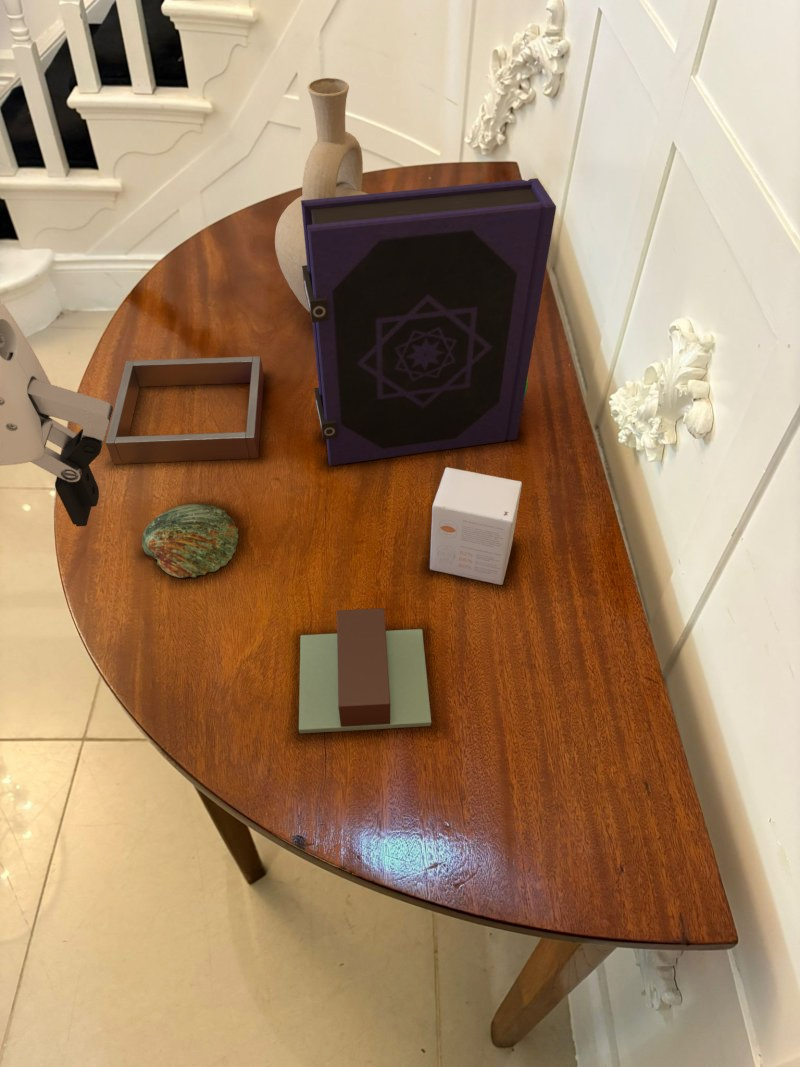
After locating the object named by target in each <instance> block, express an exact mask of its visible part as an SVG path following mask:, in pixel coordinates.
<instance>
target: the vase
mask: <svg viewBox="0 0 800 1067" xmlns="http://www.w3.org/2000/svg"><path fill="white" fill-rule="evenodd" d="M349 90H350V86H349V84H348V82H346V81H345V80H343V79H340V78H336V77H322V78H317V79H315V80H313V81H311V82H309V84H308V85H307V91H308V93H309V96H310V100H311V102H312V107H313V113H314V119H315V128H316V141H315V142H314V144H313V146H312V147H311V149H310V151H309V154H308V156H307V159H306V161H305V164H304V165H305V166H304V170H303V176H302V184H301V191H302V193H301V194H302V195H300V196H298V197H297V198H296V199H294V200H293V201H292V202H291V203H290V204H288V206H287V207H286V208H285V209H284V211H283V212H282V213H281V215H280V217H279V219H278V221H277V224H276V229H275V235H274V248H275V254H276V258H277V262H278V264H279V267H280V271H281V272H282V274H283V276H284V278H285V280H286V282H287V284H288V286H289V288H290V289H291V291H292V292H293V294H294V295H295V297H296V298H297V300H298V302H299V303H300V304H301V305H302V306H303V308H304V309H305V310H306V311H307V312H308V313H310V311H309V306H308V302H307V297H306V293H305V288H304V280H303V270H302V266H305V265H307V259H306V248H305V238H304V227H303V217H302V206H301V200H311V199H322V198H333V197H343V196H354V195H364V194H368V193H367V192H365V191H362V186H363V172H364V171H363V170H364V162H363V151H362V147H361V145H360V141H359V140H357V138H356V137H355V136H354V135H353V134H352V133H351V132H348V131H347V130H346V107H347V99H348V98H347V97H348V93H349Z"/></svg>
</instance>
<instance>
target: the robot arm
mask: <svg viewBox="0 0 800 1067" xmlns="http://www.w3.org/2000/svg"><path fill="white" fill-rule="evenodd" d="M113 412H114V408H113V405H112V404H111V403H110V402H108V401H106V400H103V399H100V398H96V397H93V396H90V395H87V394H85V393H80V392H77V391H73V390H71V389H67V388H63V387H61V386H57V385H55V384H52V383H51V381H50V380H49V377H48V375H47V373H46V371H45V370H44V368H43V366H42V363H40V360H39V358H38V357H37V355H36V352H35V351H34V349H33V348H32V345H31V344H30V342H29V340H28V339H27V337H26V336H25V334H24V332H23V331H22V329H21V328H20V326H19V323H18V322H17V321H16V320H15V318H14V316H13V315H12V313H11V312H10V311H9V309H8V308H7V307H6V305H5V304H4V302H3V301H2V300H1V299H0V467H1V466H15V465H21V464H27V463H32V464H34V465H36V466H37V467H39V468H41V469H43V470H44V471H46V472H48V473H50V474H52V475H54V476H55V477H56V479H55V483H54V488H55V491H56V493H57V494H58V497H59V499H60V501H61V502H62V505H63V507H64V508H65V511H66V513H67V514H68V517H69V520H70V521H71V523H72V525H75V526H76V527H87V525H88V522H89V517H90V514H91V510H92V508H93V507H97V506H98V503H99V499H100V490H99V486H98V484H97V483H98V482H97V481H96V479H95V476H94V474H93V471H92V469H91V467H90V465H91V464H92V463H93V461H95V459H96V458H97V457H98V456H100V454H101V451H102V447H103V445H104V442H105V438H106V437H107V436H106V435H107V434H108V430H109V427H110V424H111V420H112V416H113ZM51 417H52V418H51ZM53 418H55V419H59V420H62V421H66V422H70V423H72V424H75V425H78V426H79V427H81V428H80V430H79V431H78V433H76V432H74V431H73V430H71V429H70V428H68V427H66V426H65V425H64V424H61V423H60V422H58V421H57V420H55V419H53ZM48 441H49V442H50V443H52V444H53V445H55V446H57V447H59V449H60V448H61V453H58V452H57V451H55V450H54V449H52V448H50V447H48V446H47V443H48Z"/></svg>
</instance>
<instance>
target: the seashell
mask: <svg viewBox="0 0 800 1067" xmlns="http://www.w3.org/2000/svg"><path fill="white" fill-rule="evenodd" d="M238 533H239V528H238V527H237V526H236V523H235V522H234V520H233V518H232V517H231V516H229V515H228V513H227V512H226V510H224V509H221V508H220V507H218V506H215V505H210V504H204V503H203V504H202V503H188V504H182V505H178V506H175V507H173V508H170V509H167V510H166V511H164V512H162V513H160V514H159V515H157V516H156V517H155V518H154V519H153V520H152V521H151V522H149V523H148V525H146V527H145V529H144V531H143V533H142V536H141V547H142V550H143V552H144V553H145V554H146V555H148V556H149V557H151V558H153V559H155V560H157V562H156V565H157V566H158V567H160V568H161V570H162V571H163V572H165V573H166V574H168V575H170V576H171V577H172V576H173V577H176V578H180V579H184V578H189V577H191V578H197V577H198V576H205V575H207V573H214V572H216V571H218V570H220V568H221V567H225V566H227V565H228V563H229V561H230V560H232V558H233V556H234V554H235V553H236V551H237V546H238V539H239V534H238Z"/></svg>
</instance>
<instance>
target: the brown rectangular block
mask: <svg viewBox="0 0 800 1067" xmlns="http://www.w3.org/2000/svg"><path fill="white" fill-rule="evenodd" d="M386 631H387V630H386V611H385V608H384V607H380V608H376V607H375V608H359V609H338V610H336V633H337V651H338V707H339V716H340V724H341V727H345V726H362V725H379V724H390V690H389V674H388V659H387V643H386Z"/></svg>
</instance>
